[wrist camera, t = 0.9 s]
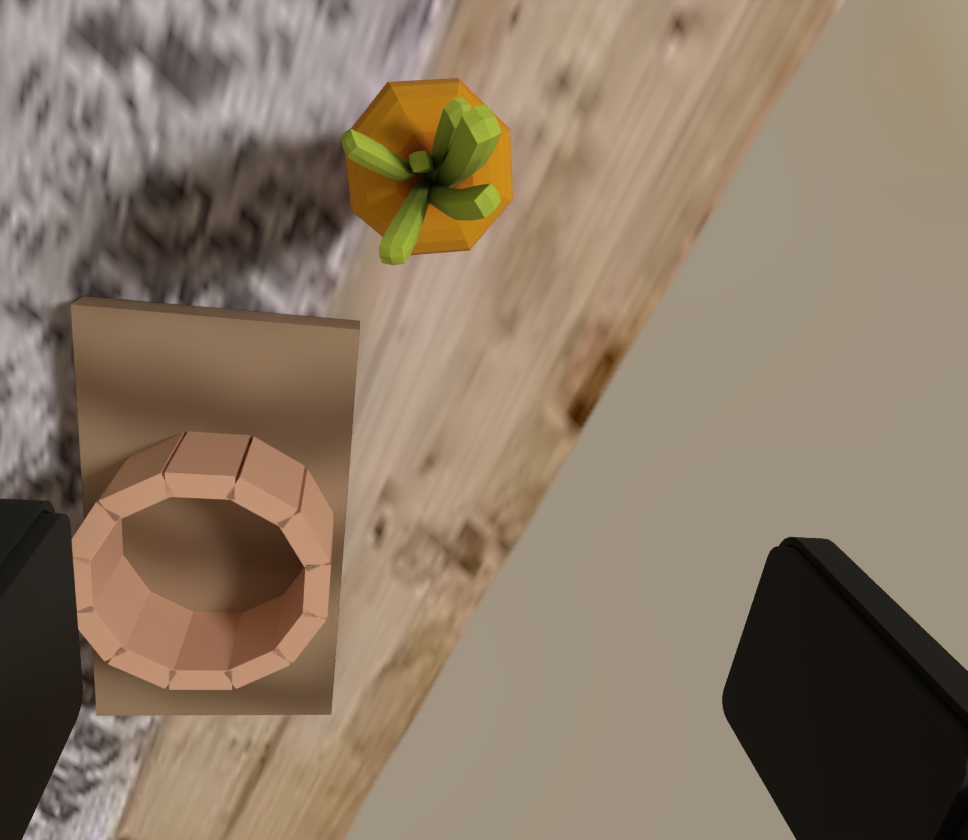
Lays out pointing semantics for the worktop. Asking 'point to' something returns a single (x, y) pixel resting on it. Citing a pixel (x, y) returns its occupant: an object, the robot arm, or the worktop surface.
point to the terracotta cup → (172, 628)
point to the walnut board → (216, 522)
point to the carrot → (428, 168)
